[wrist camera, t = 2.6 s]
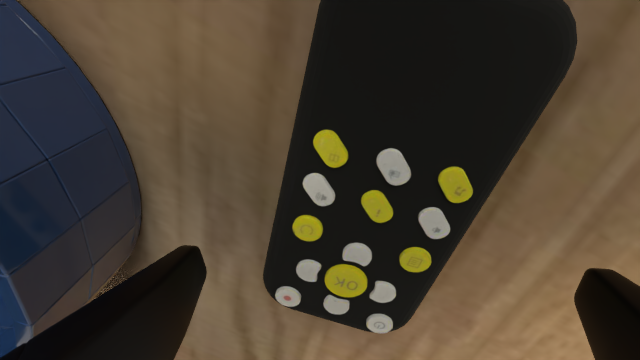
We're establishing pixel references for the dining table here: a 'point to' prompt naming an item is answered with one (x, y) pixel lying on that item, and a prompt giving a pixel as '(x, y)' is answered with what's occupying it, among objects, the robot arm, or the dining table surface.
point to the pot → (56, 184)
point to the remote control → (404, 145)
